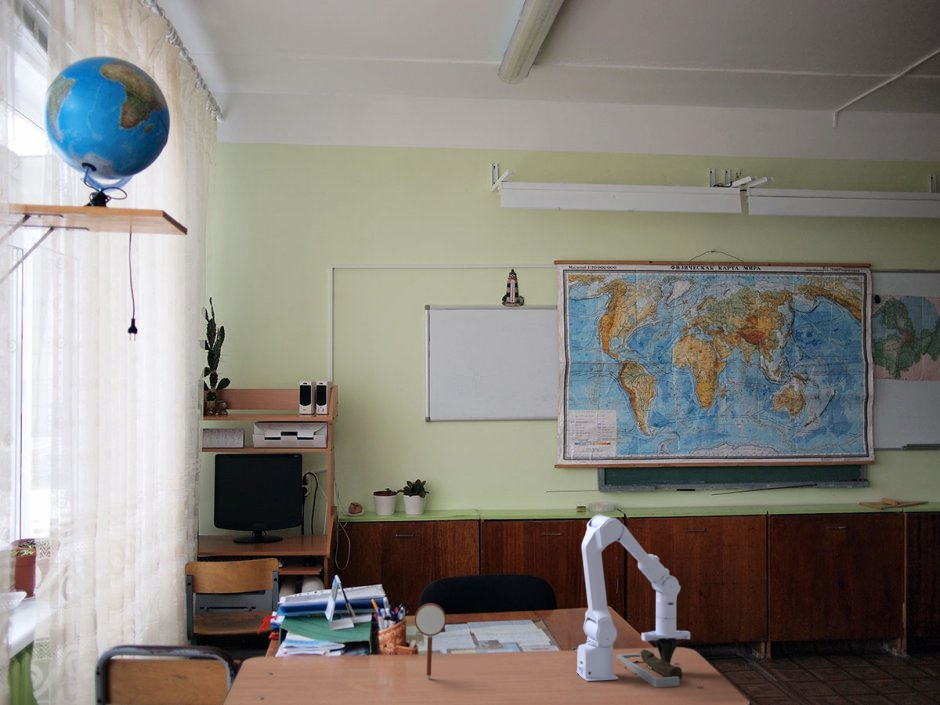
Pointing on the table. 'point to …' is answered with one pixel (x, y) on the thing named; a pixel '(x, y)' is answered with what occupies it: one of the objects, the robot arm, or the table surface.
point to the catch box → (648, 676)
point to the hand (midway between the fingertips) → (665, 665)
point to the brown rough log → (660, 665)
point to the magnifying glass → (430, 626)
